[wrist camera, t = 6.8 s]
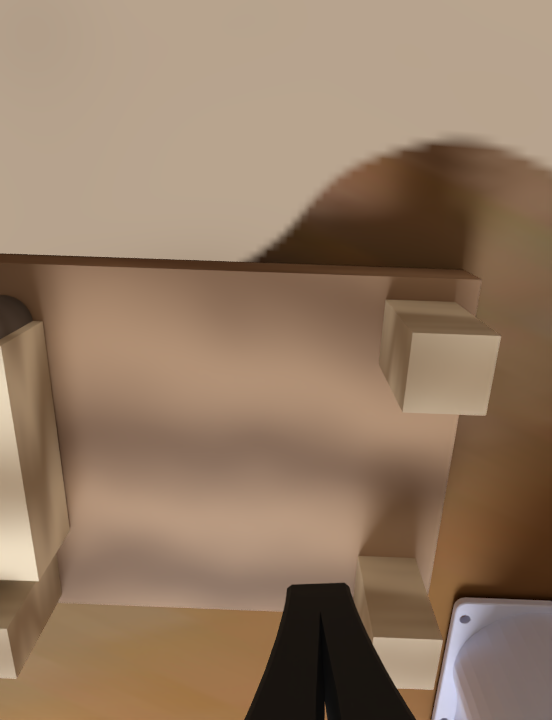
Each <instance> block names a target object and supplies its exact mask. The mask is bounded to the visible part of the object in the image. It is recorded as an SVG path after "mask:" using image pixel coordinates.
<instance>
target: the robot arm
mask: <svg viewBox="0 0 552 720" xmlns="http://www.w3.org/2000/svg"><path fill="white" fill-rule="evenodd" d="M464 615H466V616H464ZM462 616H464V617H462ZM325 705H326V712H327V719H328V720H416V719H415V717H414V716H413V714H412V713H411V711H410V709H409V708H408V706H407V705H406V703H405V701H404V700H403V698H402V696H401V695H400V693H399V691H398V690H397V688H396V686H395V685H394V683H393V681H392V679H391V678H390V676H389V674H388V672H387V670H386V669H385V667H384V665H383V663H382V661H381V659H380V657H379V655H378V653H377V652H376V650H375V648H374V646H373V644H372V642H371V640H370V638H369V636H368V634H367V631H366V629H365V627H364V625H363V623H362V620H361V618H360V616H359V613H358V611H357V608H356V606H355V603H354V600H353V597H352V594H351V591H350V587H349V586H348V585H347V584H346V583H319V584H293V585H291V586H289V587H288V588H287V592H286V600H285V605H284V610H283V615H282V619H281V622H280V626H279V630H278V633H277V637H276V640H275V643H274V646H273V649H272V651H271V654H270V657H269V660H268V663H267V666H266V669H265V672H264V674H263V677H262V679H261V682H260V684H259V687H258V689H257V691H256V694H255V696H254V699H253V701H252V704H251V706H250V708H249V711H248V713H247V715H246V717H245V719H244V720H324V716H325ZM432 720H552V601H544V600H519V599H493V598H468V597H465V598H460V599H458V600H457V601H456V602H455V604H454V607H453V612H452V617H451V622H450V627H449V633H448V638H447V643H446V648H445V653H444V658H443V663H442V668H441V674H440V679H439V684H438V689H437V694H436V699H435V704H434V709H433V715H432Z"/></svg>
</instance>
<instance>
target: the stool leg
mask: <svg viewBox="0 0 552 720" xmlns="http://www.w3.org/2000/svg"><path fill="white" fill-rule="evenodd" d="M69 531H70V528H69V520H68V512H67V505H66V497H65V489H64V482H63V474H62V466H61V459H60V451H59V443H58V436H57V428H56V420H55V413H54V405H53V397H52V390H51V382H50V374H49V366H48V359H47V351H46V343H45V336H44V328H43V321H33V320H32V316H31V313H30V311H29V310H28V308H27V307H26V306H25V305H24V304H23V303H22V302H21V301H20V300H18V299H16V298H14V297H11V296H8V295H0V580H19V581H39V580H40V579H41V577H42V575H43V574H44V572H45V570H46V569H47V567H48V566H49V564H50V562H51V561H52V559H53V557H54V556H55V554H56V553H57V551H58V549H59V548H60V546H61V544H62V543H63V541H64V539H65V538H66V536H67V535H68V533H69Z"/></svg>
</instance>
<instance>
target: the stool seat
mask: <svg viewBox="0 0 552 720" xmlns="http://www.w3.org/2000/svg"><path fill="white" fill-rule="evenodd" d="M481 283H482V280H481V279H480V278H478V277H476V276H474V275H472V274H470V273H468V272H466V271H464V270H455V269H427V268H398V267H370V266H341V265H313V264H284V263H256V262H226V261H199V260H170V259H140V258H112V257H84V256H56V255H55V256H54V255H27V254H0V295H8V296H11V297H14V298H16V299H18V300H20V301H21V302H22V303H23V304H24V305H25V306H26V307H27V308H28V310H29V311H30V313H31V316H32V320H33V321H43V328H44V336H45V343H46V351H47V359H48V366H49V374H50V382H51V390H52V397H53V405H54V413H55V420H56V428H57V436H58V443H59V451H60V459H61V466H62V474H63V482H64V489H65V497H66V505H67V512H68V520H69V528H70V531H69V533H68V535H67V536H66V538H65V539H64V541H63V543H62V544H61V546H60V548H59V549H58V551H57V553H56V554H55V556H54V557H53V559H52V561H51V562H50V564H49V566H48V567H47V569H46V570H45V572H44V574H43V575H42V577H41V579H40V580H39V581H19V580H0V678H13V679H17V677H18V675H19V673H20V671H21V670H22V668H23V666H24V664H25V662H26V660H27V658H28V657H29V655H30V653H31V651H32V649H33V647H34V645H35V644H36V642H37V640H38V638H39V636H40V634H41V632H42V631H43V629H44V627H45V625H46V623H47V621H48V619H49V618H50V616H51V614H52V612H53V610H54V608H55V606H56V605H57V603H79V604H104V605H129V606H154V607H179V608H204V609H230V610H255V611H280V612H283V610H284V605H285V600H286V592H287V588H288V587H289V586H291V585H293V584H319V583H346V584H347V585H348V586H349V587H350V591H351V594H352V597H353V600H354V603H355V606H356V608H357V611H358V613H359V616H360V618H361V620H362V623H363V625H364V627H365V629H366V631H367V634H368V636H369V638H370V640H371V642H372V644H373V646H374V648H375V650H376V652H377V653H378V655H379V657H380V659H381V661H382V663H383V665H384V667H385V669H386V670H387V672H388V674H389V676H390V678H391V679H392V681H393V683H394V685H395V686H396V688H403V689H427V690H433V689H434V684H435V679H436V673H437V668H438V663H439V658H440V653H441V647H442V642H443V639H442V636H441V633H440V630H439V627H438V624H437V621H436V618H435V615H434V612H433V609H432V606H431V603H430V600H429V597H428V593H429V587H430V581H431V575H432V569H433V563H434V557H435V552H436V546H437V540H438V534H439V528H440V522H441V517H442V511H443V505H444V499H445V493H446V487H447V482H448V476H449V470H450V464H451V458H452V452H453V447H454V441H455V435H456V429H457V423H458V417H459V415H483V416H486V412H487V407H488V402H489V397H490V391H491V386H492V381H493V376H494V371H495V365H496V360H497V355H498V350H499V344H500V339H501V336H500V335H499V334H498V333H496V332H495V331H494V330H492V329H491V328H490V327H488V326H487V325H486V324H484V323H483V322H481V321H480V320H479V319H477V318H476V312H477V306H478V301H479V295H480V289H481Z"/></svg>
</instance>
